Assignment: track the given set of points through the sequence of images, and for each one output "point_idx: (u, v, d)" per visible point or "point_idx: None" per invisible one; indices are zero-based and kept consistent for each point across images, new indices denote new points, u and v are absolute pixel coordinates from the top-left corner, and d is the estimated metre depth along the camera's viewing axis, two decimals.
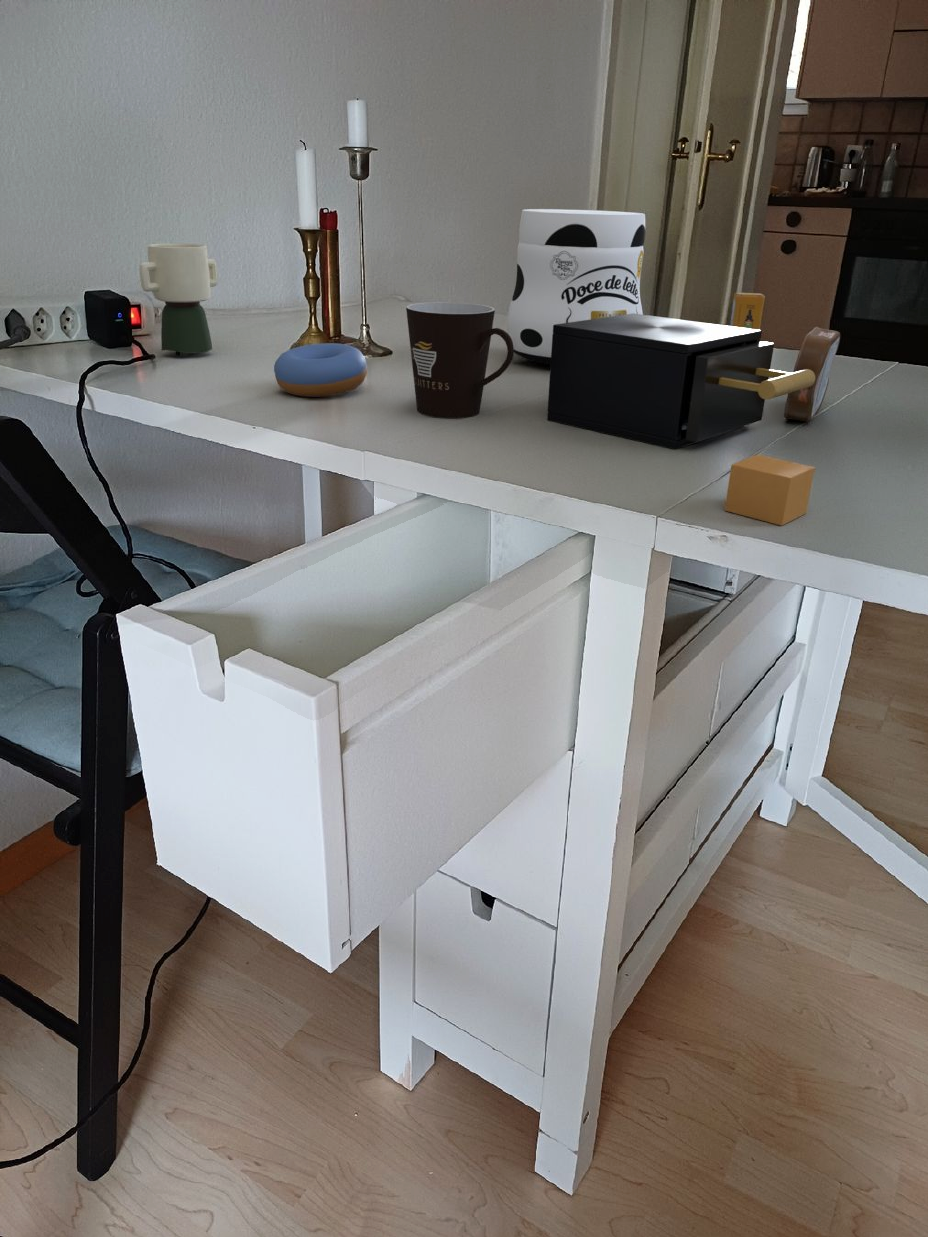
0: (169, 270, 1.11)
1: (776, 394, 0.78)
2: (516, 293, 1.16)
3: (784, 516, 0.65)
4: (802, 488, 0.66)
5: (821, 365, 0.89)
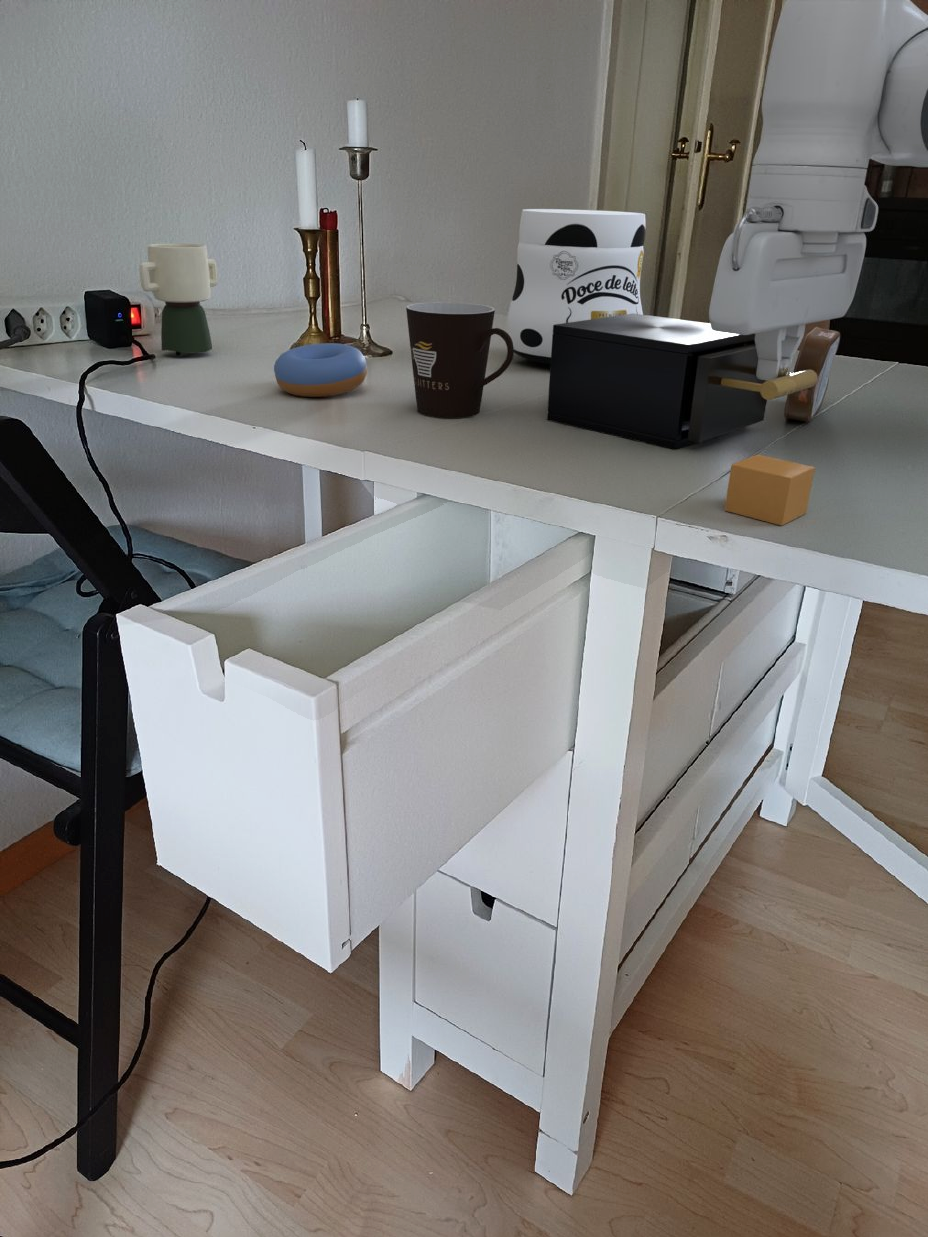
0: (169, 271, 1.11)
1: (778, 394, 0.78)
2: (516, 293, 1.16)
3: (784, 516, 0.65)
4: (802, 488, 0.66)
5: (821, 365, 0.89)
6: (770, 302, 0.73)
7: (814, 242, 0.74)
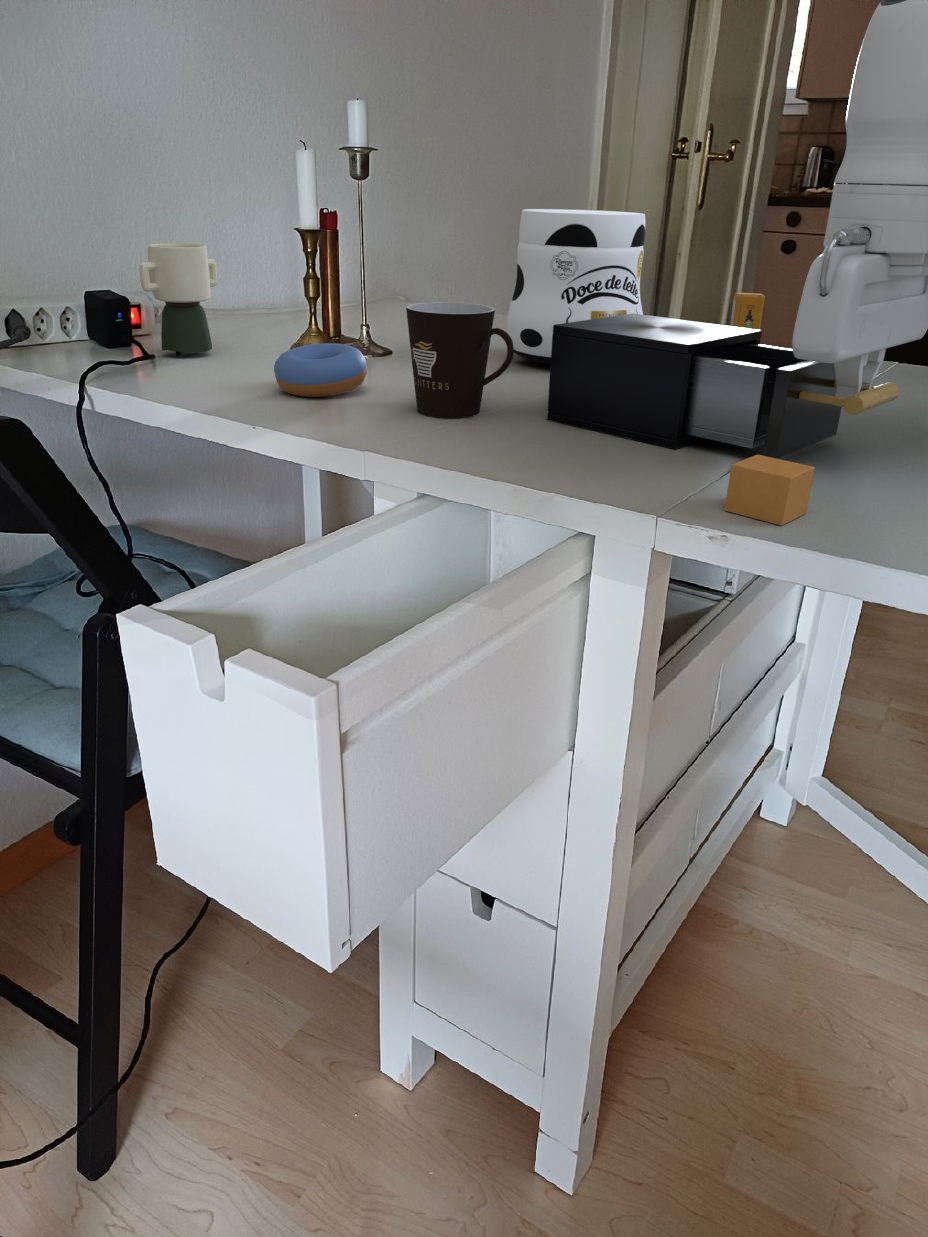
0: (169, 270, 1.11)
1: (863, 409, 0.74)
2: (516, 293, 1.16)
3: (784, 516, 0.65)
4: (802, 488, 0.66)
5: None
6: (857, 328, 0.69)
7: (902, 264, 0.70)
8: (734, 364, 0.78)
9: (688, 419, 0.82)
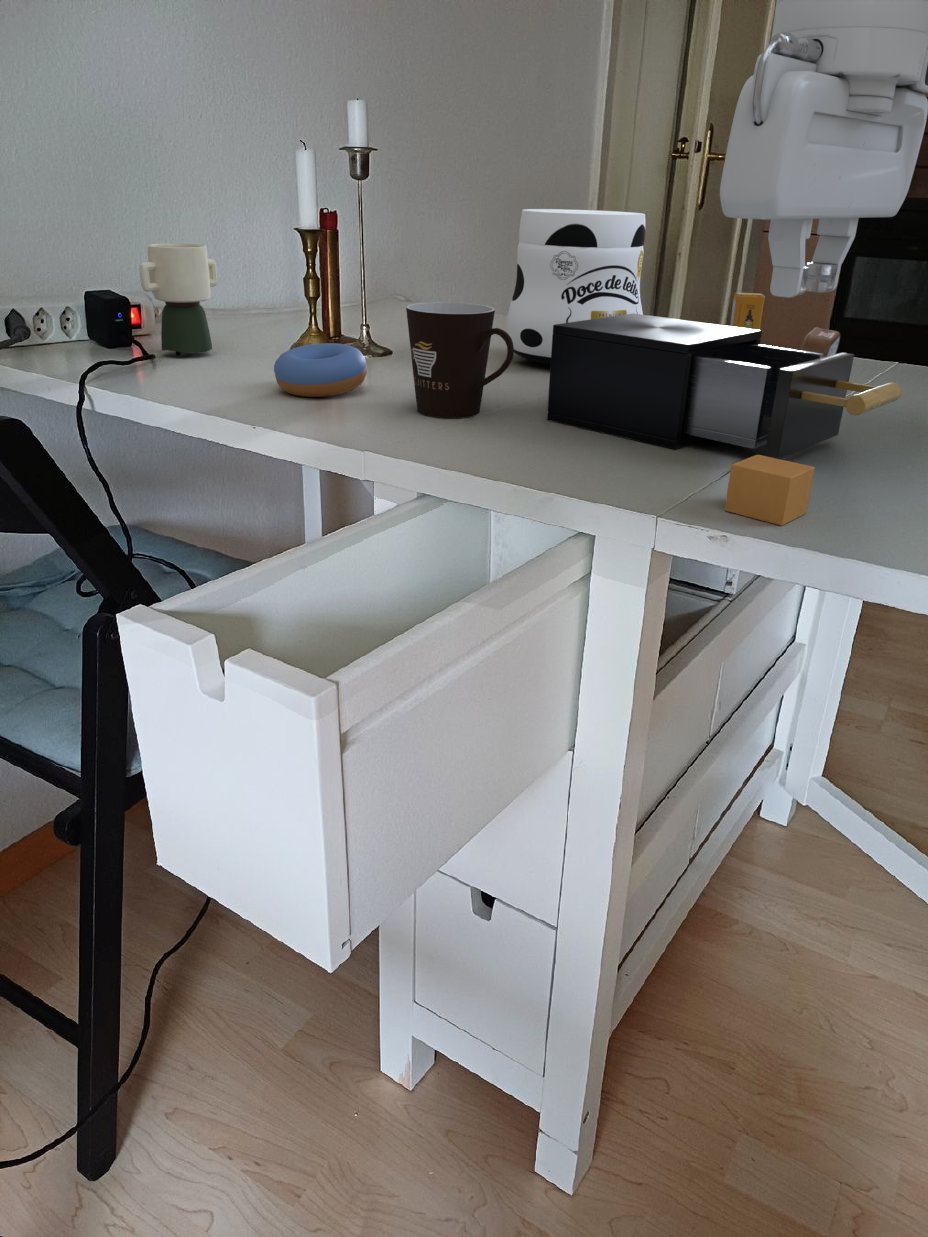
0: (169, 271, 1.11)
1: (865, 410, 0.74)
2: (516, 293, 1.16)
3: (784, 516, 0.65)
4: (802, 488, 0.66)
5: None
6: (806, 175, 0.53)
7: (865, 93, 0.54)
8: (736, 364, 0.78)
9: (690, 420, 0.82)
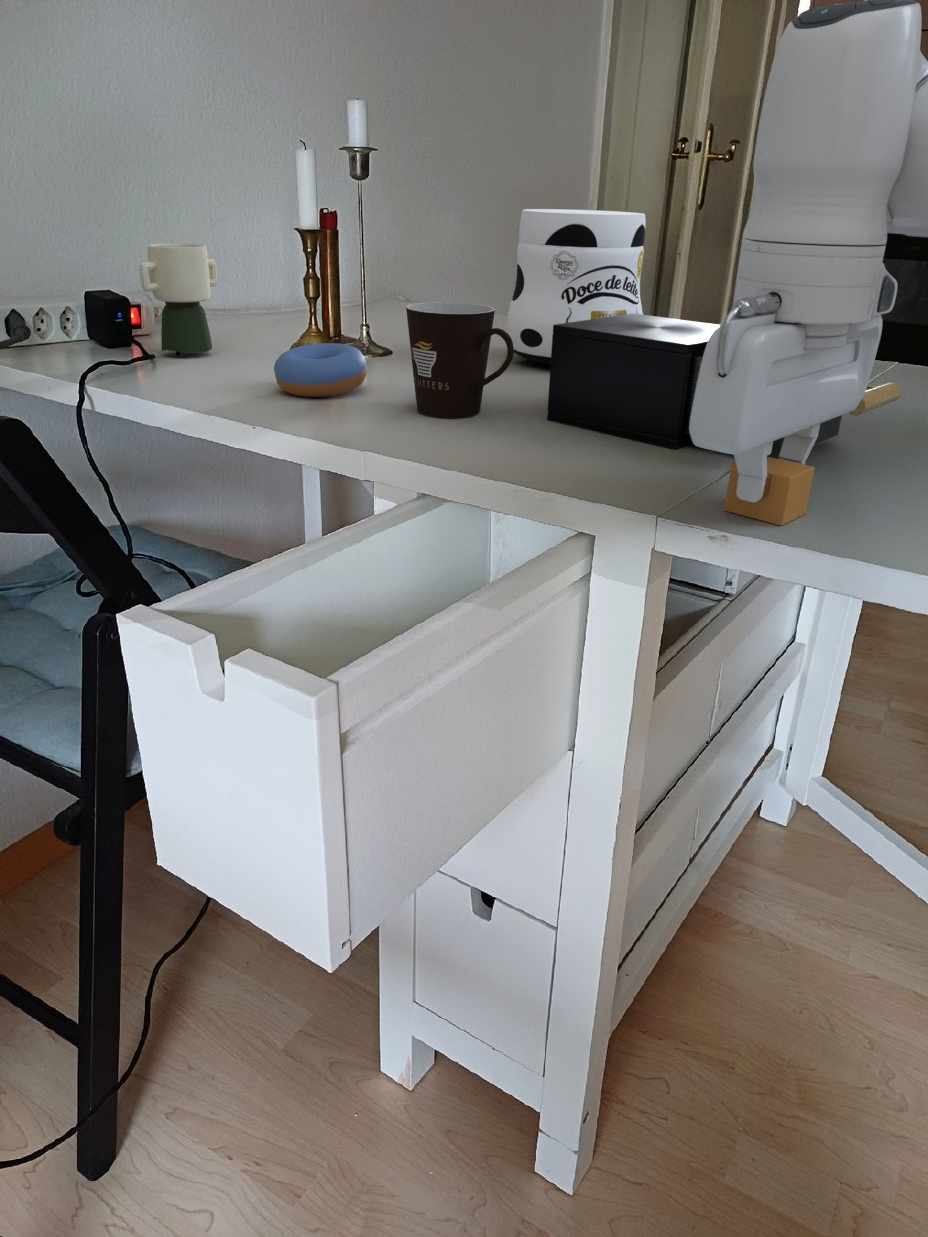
0: (169, 270, 1.11)
1: (865, 410, 0.74)
2: (516, 293, 1.16)
3: (784, 516, 0.65)
4: (802, 488, 0.66)
5: None
6: (766, 412, 0.59)
7: (820, 335, 0.59)
8: None
9: None
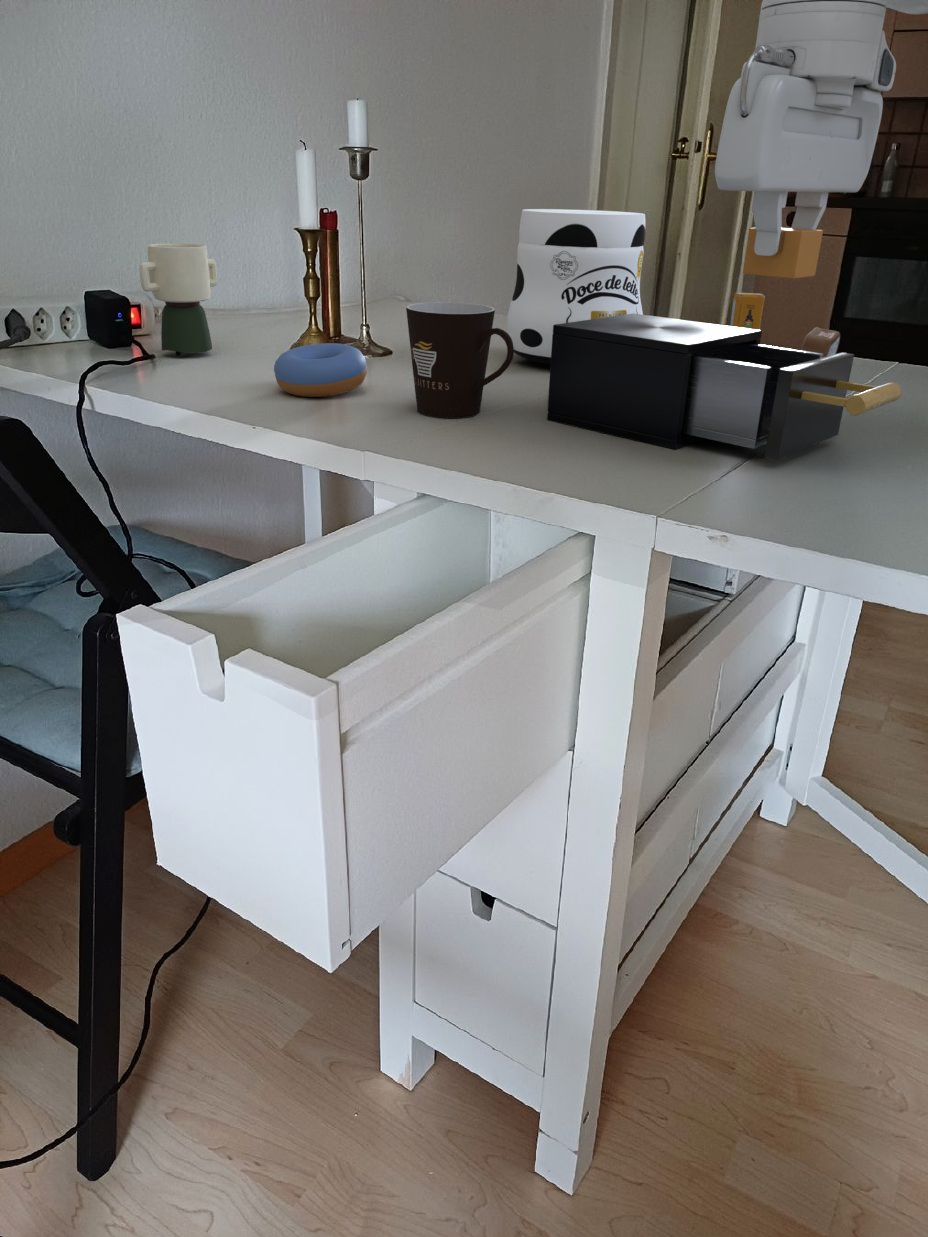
0: (169, 271, 1.11)
1: (865, 410, 0.74)
2: (516, 293, 1.16)
3: (796, 269, 0.73)
4: (812, 247, 0.74)
5: None
6: (782, 156, 0.67)
7: (829, 91, 0.68)
8: (736, 364, 0.78)
9: (690, 420, 0.82)
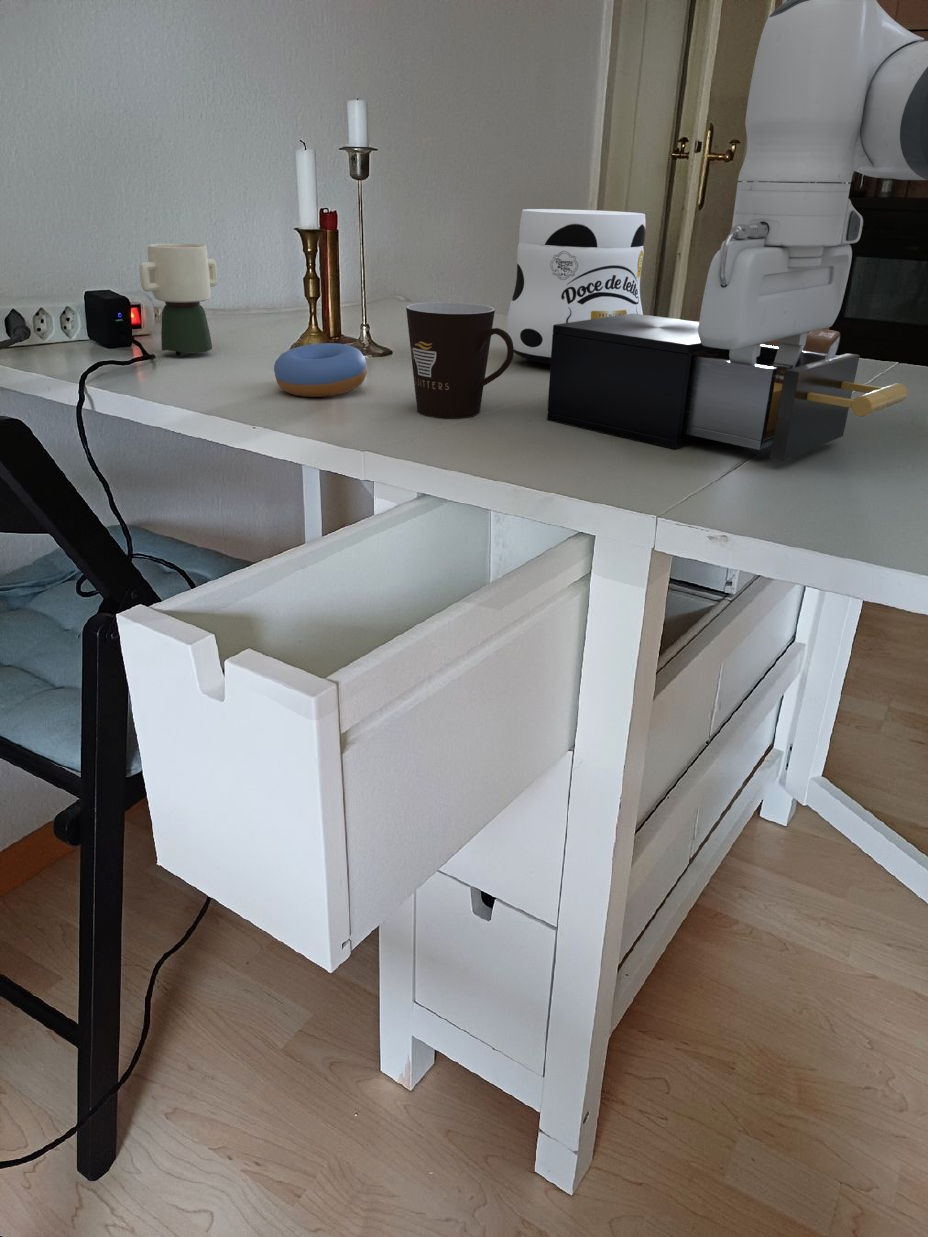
0: (169, 271, 1.11)
1: (871, 411, 0.73)
2: (516, 293, 1.16)
3: (769, 423, 0.81)
4: None
5: None
6: (759, 317, 0.74)
7: (800, 256, 0.75)
8: (741, 365, 0.78)
9: (695, 421, 0.82)
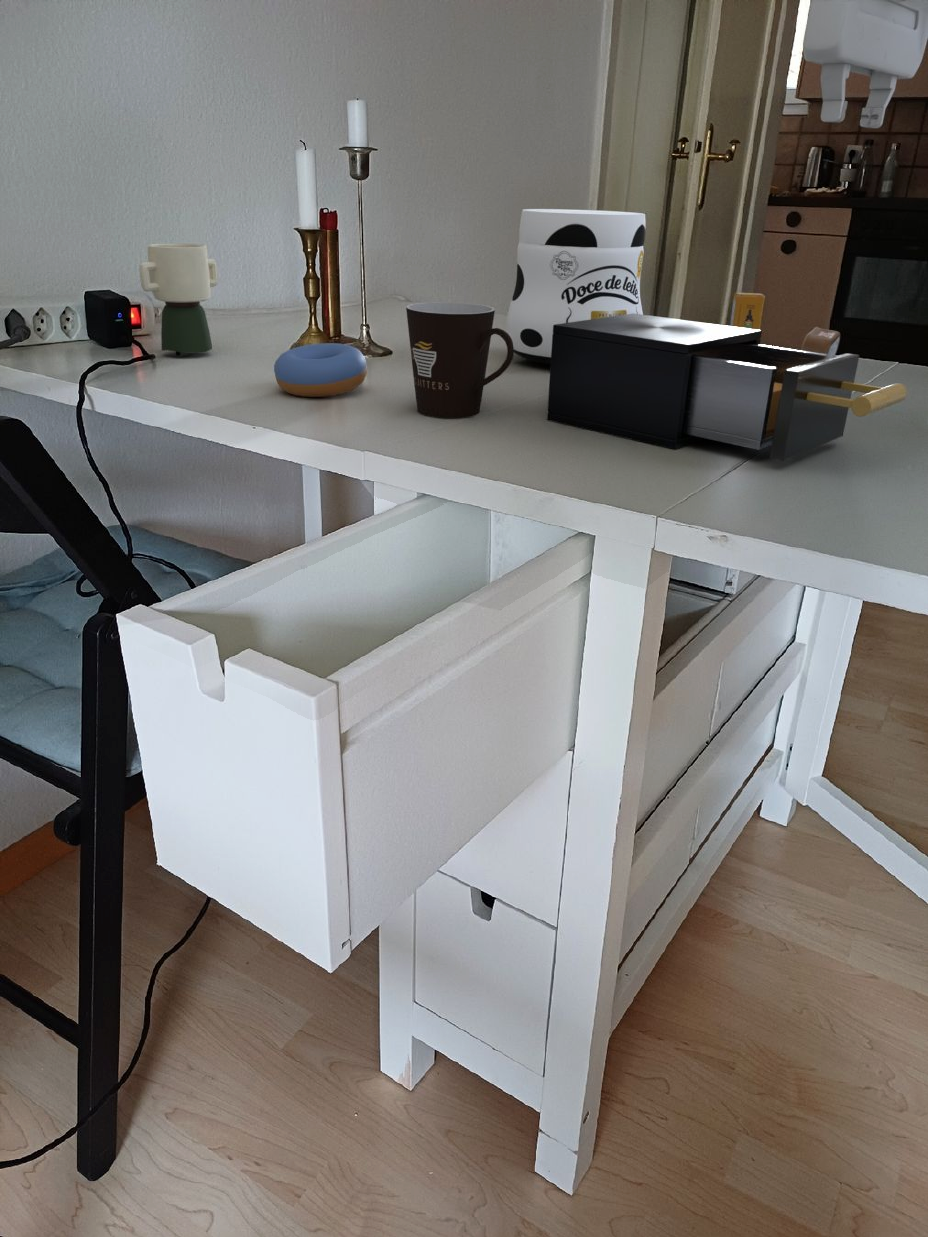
0: (169, 271, 1.11)
1: (871, 411, 0.73)
2: (516, 293, 1.16)
3: (769, 423, 0.81)
4: None
5: None
6: (858, 32, 0.83)
7: None
8: (741, 365, 0.78)
9: (694, 421, 0.82)
